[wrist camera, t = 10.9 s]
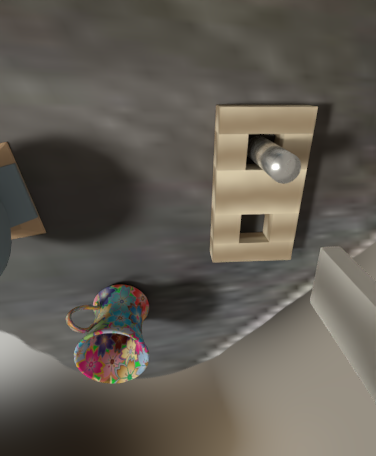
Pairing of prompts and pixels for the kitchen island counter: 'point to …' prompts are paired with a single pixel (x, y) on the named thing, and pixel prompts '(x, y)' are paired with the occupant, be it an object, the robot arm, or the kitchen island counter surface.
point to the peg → (274, 159)
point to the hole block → (257, 181)
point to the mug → (113, 336)
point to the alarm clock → (14, 206)
